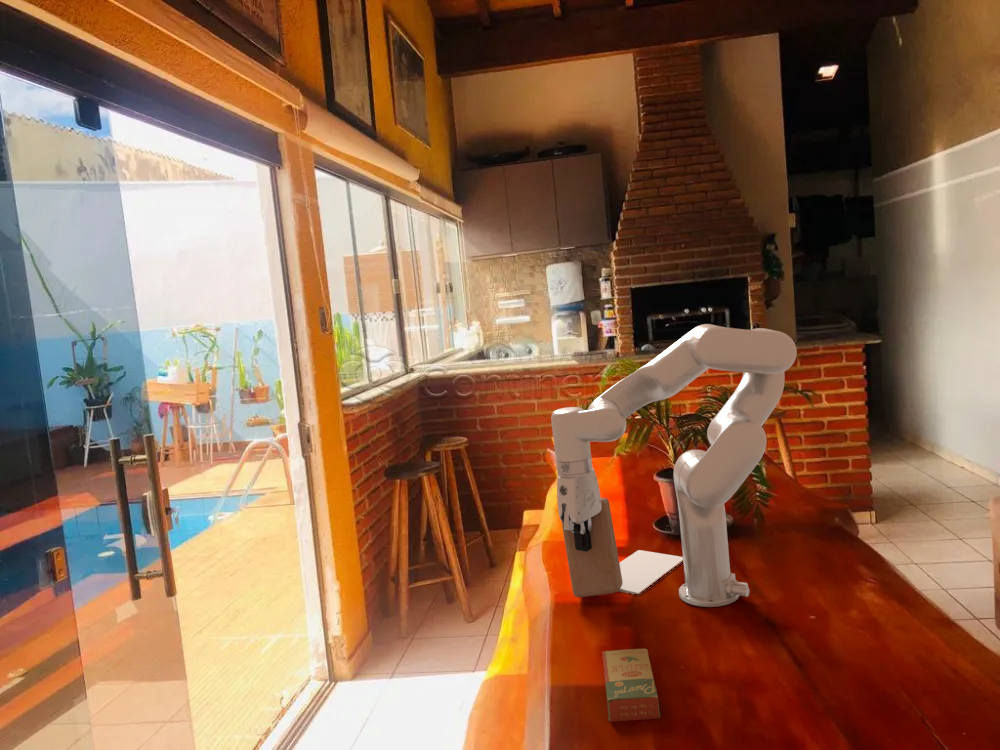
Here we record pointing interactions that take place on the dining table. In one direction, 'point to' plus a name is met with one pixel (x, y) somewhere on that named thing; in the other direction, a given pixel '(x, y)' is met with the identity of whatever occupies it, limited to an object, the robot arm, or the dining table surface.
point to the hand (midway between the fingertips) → (583, 549)
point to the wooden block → (595, 558)
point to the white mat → (645, 570)
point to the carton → (630, 685)
